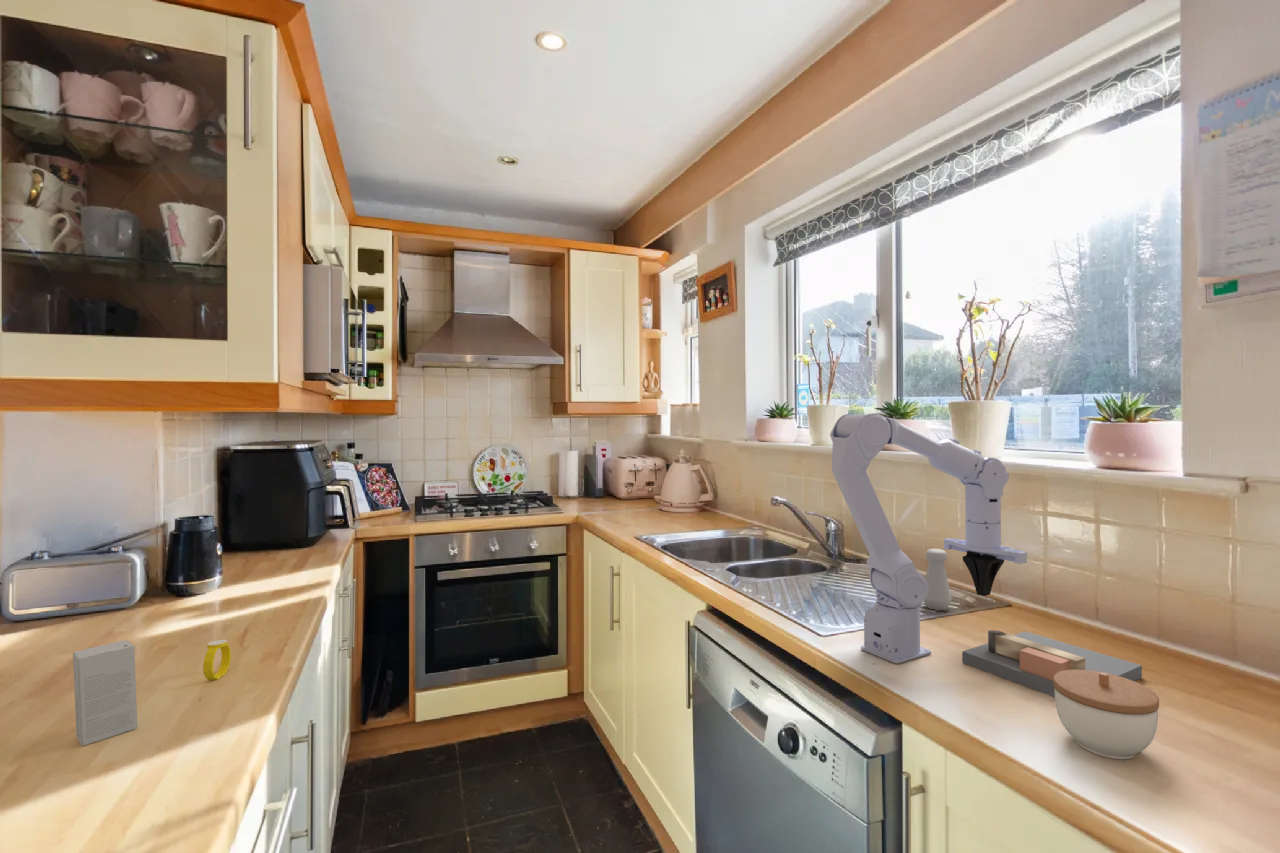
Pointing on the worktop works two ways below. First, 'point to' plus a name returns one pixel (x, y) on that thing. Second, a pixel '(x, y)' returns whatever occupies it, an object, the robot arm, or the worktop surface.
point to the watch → (209, 659)
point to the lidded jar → (1106, 712)
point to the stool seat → (1045, 663)
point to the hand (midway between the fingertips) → (983, 594)
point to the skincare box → (105, 691)
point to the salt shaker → (937, 580)
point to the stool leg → (1014, 644)
